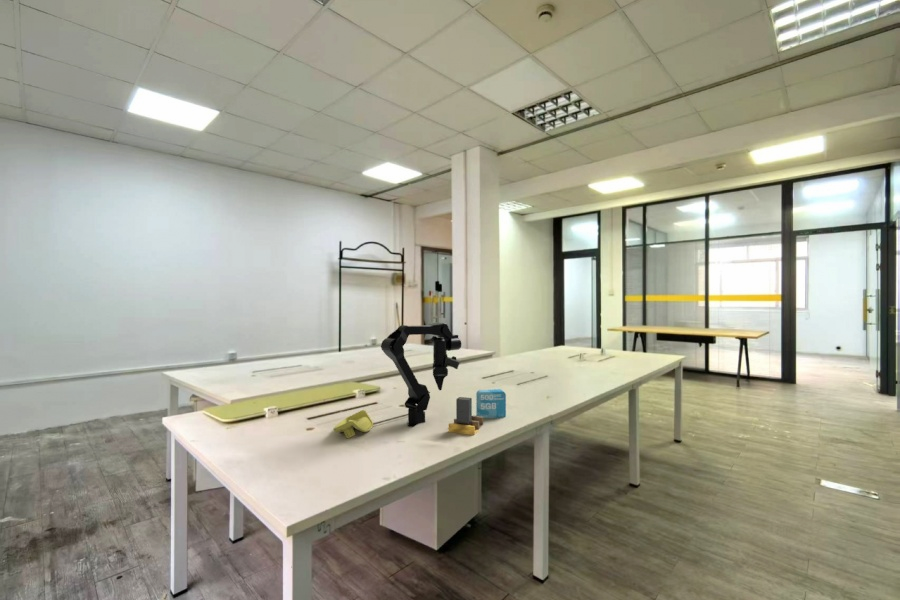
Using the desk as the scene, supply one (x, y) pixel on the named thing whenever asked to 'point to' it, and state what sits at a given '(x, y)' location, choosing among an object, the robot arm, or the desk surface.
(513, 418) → the desk surface
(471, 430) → the rack
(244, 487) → the desk surface
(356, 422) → the plastic component
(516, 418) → the desk surface
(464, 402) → the block
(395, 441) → the desk surface
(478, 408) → the data package
